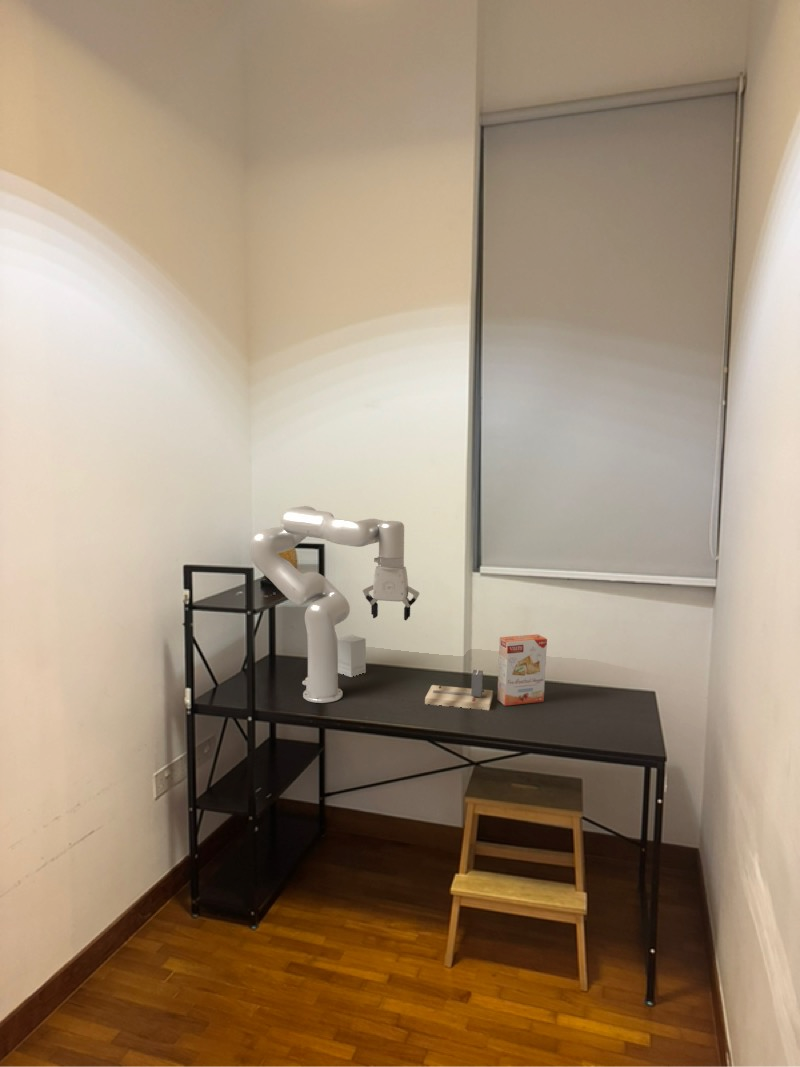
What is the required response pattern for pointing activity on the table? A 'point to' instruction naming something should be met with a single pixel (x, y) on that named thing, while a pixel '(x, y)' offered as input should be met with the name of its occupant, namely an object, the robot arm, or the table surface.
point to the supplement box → (351, 655)
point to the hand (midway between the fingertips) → (390, 618)
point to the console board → (458, 697)
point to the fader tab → (477, 683)
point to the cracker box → (521, 669)
